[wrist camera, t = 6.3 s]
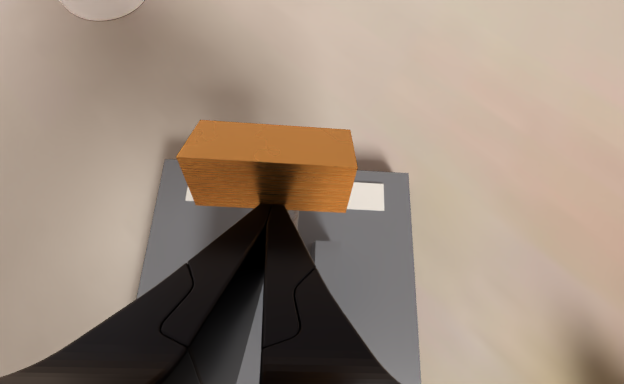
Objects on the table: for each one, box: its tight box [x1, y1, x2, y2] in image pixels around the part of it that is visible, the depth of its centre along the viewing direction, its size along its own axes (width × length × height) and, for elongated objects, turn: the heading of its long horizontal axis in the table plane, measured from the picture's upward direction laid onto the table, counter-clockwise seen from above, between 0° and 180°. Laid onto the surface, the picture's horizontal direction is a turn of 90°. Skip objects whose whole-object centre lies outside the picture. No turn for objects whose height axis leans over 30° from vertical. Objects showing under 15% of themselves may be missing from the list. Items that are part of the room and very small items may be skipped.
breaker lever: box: [176, 120, 358, 230], centre depth 11 cm, size 2×5×11 cm
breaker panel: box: [136, 159, 421, 384], centre depth 15 cm, size 16×18×6 cm
